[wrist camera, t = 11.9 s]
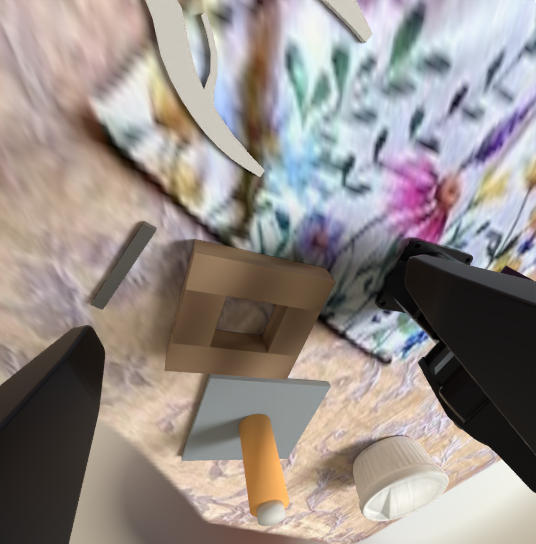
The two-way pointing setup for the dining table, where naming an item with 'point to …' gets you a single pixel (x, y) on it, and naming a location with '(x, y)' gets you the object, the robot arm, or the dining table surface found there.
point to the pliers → (187, 80)
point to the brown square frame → (252, 286)
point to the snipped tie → (124, 265)
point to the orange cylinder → (262, 470)
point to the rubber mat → (247, 401)
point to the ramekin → (396, 478)
